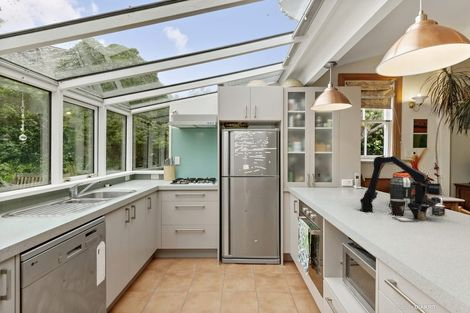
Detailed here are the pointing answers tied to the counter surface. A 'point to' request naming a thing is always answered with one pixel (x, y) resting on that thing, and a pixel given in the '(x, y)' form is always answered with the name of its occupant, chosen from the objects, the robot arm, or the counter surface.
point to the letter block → (421, 216)
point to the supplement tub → (402, 188)
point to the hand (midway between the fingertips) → (419, 218)
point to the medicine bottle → (437, 208)
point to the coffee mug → (397, 207)
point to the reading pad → (404, 219)
